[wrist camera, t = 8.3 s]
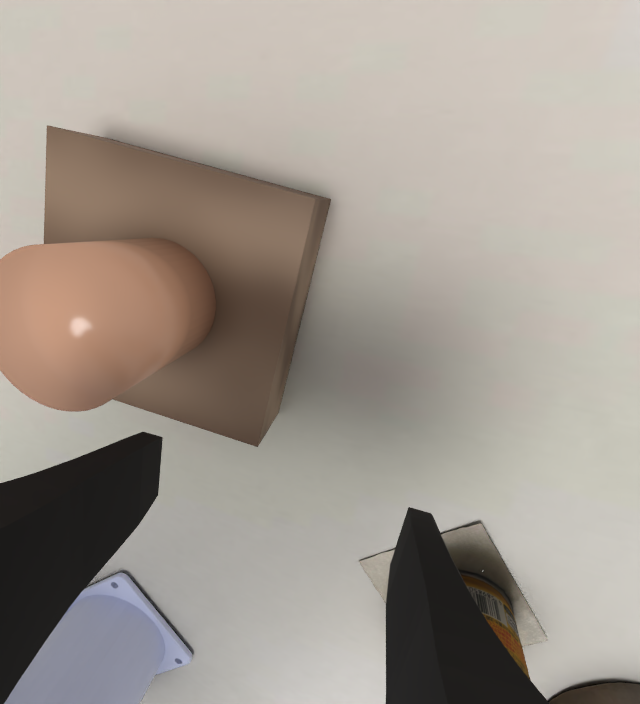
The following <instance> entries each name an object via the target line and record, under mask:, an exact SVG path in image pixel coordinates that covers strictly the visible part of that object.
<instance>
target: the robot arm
mask: <svg viewBox="0 0 640 704" xmlns="http://www.w3.org/2000/svg"><path fill="white" fill-rule="evenodd" d="M162 438H163V437H159V436H156V435H152V434H149V433H145V432H141V433H138V434H136V435H133V436H130V437H128V438H125V439H123V440H120V441H118V442H115V443H113V444H110V445H108V446H106V447H103V448H101V449H98V450H96V451H93V452H91V453H88V454H86V455H83V456H81V457H78V458H75V459H73V460H70V461H67V462H64V463H62V464H59V465H56V466H53V467H50V468H48V469H45V470H42V471H39V472H36V473H33V474H30V475H27V476H24V477H21V478H17V479H14V480H11V481H7V482H3V483H0V704H140V702H141V700H142V698H143V696H144V695H145V693H146V691H147V689H148V687H149V685H150V683H151V682H152V680H153V678H154V676H155V675H157V674H160V673H163V672H166V671H169V670H172V669H175V668H178V667H181V666H184V665H186V664H189V663H190V662H191V660H192V657H193V655H192V653H191V651H190V650H189V649H188V648H187V647H186V645H185V644H184V643H183V642H182V641H181V639H180V638H179V637H178V636H177V635H176V633H175V632H174V631H173V630H172V628H171V627H170V626H169V625H168V624H167V622H166V621H165V620H164V619H163V618H162V616H161V615H160V614H159V613H158V612H157V610H156V609H155V608H154V607H153V606H152V604H151V603H150V602H149V601H148V599H147V598H146V597H145V596H144V595H143V593H142V592H141V591H140V590H139V589H138V587H137V586H136V585H135V584H134V583H133V581H132V580H131V579H130V578H129V577H128V575H126V574H125V573H117V574H115V575H113V576H111V577H109V578H107V579H104V580H102V581H100V582H98V583H96V584H94V585H91V586H89V587H87V588H85V587H86V586H87V585H88V584H89V583H90V581H91V580H92V579H93V578H94V577H95V576H96V574H97V573H98V572H99V571H100V570H101V569H102V567H103V566H104V565H105V564H106V563H107V562H108V560H109V559H110V558H111V557H112V556H113V555H114V553H115V552H116V551H117V550H118V549H119V548H120V546H121V545H122V544H123V543H124V542H125V540H126V539H127V538H128V537H129V536H130V535H131V533H132V532H133V531H134V530H135V529H136V527H137V526H138V525H139V523H140V522H141V520H142V519H143V517H144V516H145V514H146V513H147V512H148V510H149V508H150V507H151V505H152V504H153V502H154V500H155V499H156V497H157V496H158V488H159V475H160V463H161V450H162ZM84 588H85V589H84ZM386 704H550V703H549V702H548V701H547V700H546V699H545V698H544V696H543V695H542V694H541V693H540V692H539V690H538V689H537V688H536V687H535V685H534V684H533V683H532V682H531V680H530V679H529V678H528V677H527V675H526V674H525V673H524V672H523V670H522V669H521V668H520V667H519V665H518V664H517V663H516V661H515V660H514V659H513V657H512V656H511V655H510V653H509V652H508V651H507V649H506V648H505V646H504V645H503V644H502V642H501V641H500V639H499V638H498V636H497V635H496V633H495V632H494V631H493V629H492V628H491V626H490V625H489V623H488V622H487V620H486V618H485V617H484V615H483V614H482V612H481V610H480V609H479V607H478V605H477V603H476V602H475V600H474V598H473V597H472V595H471V593H470V591H469V590H468V588H467V586H466V584H465V582H464V580H463V578H462V577H461V575H460V573H459V571H458V569H457V567H456V565H455V563H454V561H453V559H452V557H451V555H450V553H449V551H448V549H447V547H446V544H445V542H444V540H443V538H442V536H441V533H440V531H439V529H438V527H437V524H436V522H435V520H434V518H433V516H432V514H431V513H427V512H424V511H420V510H417V509H413V508H410V507H409V508H408V511H407V514H406V517H405V520H404V523H403V526H402V529H401V533H400V536H399V539H398V542H397V545H396V548H395V551H394V554H393V557H392V560H391V563H390V570H389V579H388V587H387V597H386Z"/></svg>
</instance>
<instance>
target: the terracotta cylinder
mask: <svg viewBox="0 0 640 704" xmlns="http://www.w3.org/2000/svg"><path fill="white" fill-rule="evenodd" d="M215 312H216V298H215V292H214V287H213V284H212V281H211V279H210V277H209V275H208V273H207V271H206V269H205V268H204V266H203V265H202V263H201V262H200V261H199V260H198V259H197V258H196V257H195V256H194V255H193V254H192V253H191V252H190V251H188V250H187V249H186V248H184V247H183V246H181V245H179V244H177V243H175V242H172V241H170V240H166V239H161V238H141V239H124V240H107V241H91V242H74V243H57V244H40V245H30V246H25V247H21V248H19V249H16V250H13V251H12V252H10V253H8V254H7V255H5V256H4V257H3V258H2V259H0V370H1V371H2V373H3V374H4V375H5V377H6V378H7V379H8V380H9V381H10V382H11V383H12V384H13V385H14V386H15V387H16V388H17V389H19V390H20V391H21V392H22V393H24V394H25V395H27V396H28V397H29V398H31V399H33V400H35V401H36V402H38V403H40V404H43V405H45V406H47V407H50V408H54V409H57V410H63V411H86V410H90V409H94V408H97V407H99V406H101V405H103V404H105V403H107V402H108V401H110V400H112V399H113V398H115V397H117V396H118V395H120V394H121V393H123V392H125V391H126V390H128V389H129V388H131V387H133V386H134V385H136V384H138V383H139V382H141V381H142V380H144V379H146V378H147V377H149V376H151V375H152V374H154V373H155V372H157V371H159V370H160V369H162V368H163V367H165V366H167V365H168V364H170V363H172V362H173V361H175V360H176V359H178V358H180V357H181V356H183V355H185V354H186V353H188V352H189V351H191V350H193V349H194V348H196V347H197V346H198V345H199V344H200V343H201V342H202V341H203V340H204V339H205V338H206V336H207V335H208V333H209V332H210V330H211V327H212V325H213V322H214V318H215Z"/></svg>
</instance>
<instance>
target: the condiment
mask: <svg viewBox="0 0 640 704" xmlns="http://www.w3.org/2000/svg"><path fill="white" fill-rule="evenodd" d="M441 536H442V538H443V540H444V542H445V544H446V547H447V549H448V551H449V553H450V555H451V557H452V559H453V561H454V563H455V565H456V567H457V569H458V571H459V573H460V575H461V577H462V578H463V580H464V582H465V584H466V586H467V588H468V590H469V591H470V593H471V595H472V597H473V598H474V600H475V602H476V603H477V605H478V607H479V609H480V610H481V612H482V614H483V615H484V617H485V618H486V620H487V622H488V623H489V625H490V626H491V628H492V629H493V631H494V632H495V633H496V635H497V636H498V638H499V639H500V641H501V642H502V644H503V645H504V646H505V648H506V649H507V651H508V652H509V653H510V655H511V656H512V657H513V659H514V660H515V661H516V663H517V664H518V665H519V667H520V668H521V669H522V670H523V672H524V673H525V674H526V675H527V677H528V678H529V679H530V677H529V674H528V669H527V665H526V661H525V657H524V654H523V649H522V647H523V646H525V645H531V644H535V643H540V642H543V641H547V640H548V639H547V637H546V636H545V634H544V632H543V630H542V629H541V627H540V625H539V623H538V621H537V620H536V618H535V616H534V614H533V612H532V611H531V609H530V607H529V605H528V603H527V602H526V600H525V598H524V596H523V595H522V593H521V591H520V589H519V588H518V586H517V585H516V583H515V581H514V579H513V578H512V576H511V575H510V573H509V571H508V570H507V567H506V565H505V564H504V562H503V560H502V558H501V557H500V555H499V553H498V551H497V549H496V548H495V546H494V545H493V543H492V541H491V540H490V538H489V536H488V534H487V532H486V531H485V529H484V527H483V525H482V524H481V523H480V524H476V525H473V526H469V527H467V528H466V527H463V528H459V529H457V530H453V531H450V532H446V533H444V534H441ZM394 551H395V550H392V551H388V552H384V553H380V554H378V555H376V556H374V557H371V558H368V559H365V560H362V561H359V562H360V564H361V566H362V567H363V569H364V571H365V572H366V574H367V575H368V577H369V578H370V579H371V581H372V583H373V585H374V587H375V588H376V590H377V591H378V592H379V593H380V595H381V597H382V598H383V600H384V602H385V603H386V597H387V587H388V579H389V570H390V563H391V560H392V557H393V554H394ZM482 570H484V571H483V572H482Z"/></svg>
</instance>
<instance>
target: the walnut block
mask: <svg viewBox="0 0 640 704" xmlns="http://www.w3.org/2000/svg"><path fill="white" fill-rule="evenodd" d="M330 201H331V199H328V198H324V197H321V196H317V195H313V194H310V193H306V192H302V191H299V190H295V189H291V188H288V187H284V186H280V185H277V184H273V183H269V182H266V181H262V180H258V179H255V178H251V177H247V176H244V175H240V174H236V173H233V172H229V171H225V170H222V169H218V168H214V167H211V166H207V165H203V164H200V163H196V162H192V161H189V160H185V159H181V158H178V157H174V156H170V155H167V154H163V153H159V152H155V151H152V150H148V149H144V148H141V147H137V146H133V145H130V144H126V143H122V142H119V141H115V140H111V139H108V138H104V137H99V136H95V135H90V134H85V133H80V132H76V131H71V130H66V129H61V128H57V127H52V126H47V144H46V182H45V220H44V244H57V243H74V242H91V241H107V240H124V239H141V238H161V239H166V240H170V241H172V242H175V243H177V244H179V245H181V246H183V247H184V248H186V249H187V250H188V251H190V252H191V253H192V254H193V255H194V256H195V257H196V258H197V259H198V260H199V261H200V262H201V263H202V265H203V266H204V268H205V269H206V271H207V273H208V275H209V277H210V279H211V281H212V284H213V287H214V292H215V298H216V312H215V318H214V322H213V325H212V327H211V330H210V332H209V333H208V335H207V336H206V338H205V339H204V340H203V341H202V342H201V343H200V344H199V345H198V346H197V347H196V348H194V349H193V350H191V351H189V352H188V353H186V354H185V355H183V356H181V357H180V358H178V359H176V360H175V361H173V362H172V363H170V364H168V365H167V366H165V367H163V368H162V369H160V370H159V371H157V372H155V373H154V374H152V375H151V376H149V377H147V378H146V379H144V380H142V381H141V382H139V383H138V384H136V385H134V386H133V387H131V388H129V389H128V390H126V391H125V392H123V393H121V394H120V395H118V396H117V397H115V398H113V399H114V400H117V401H120V402H123V403H126V404H129V405H132V406H135V407H138V408H141V409H144V410H147V411H150V412H153V413H156V414H159V415H162V416H165V417H168V418H171V419H174V420H177V421H180V422H183V423H186V424H190V425H193V426H196V427H199V428H202V429H205V430H208V431H211V432H214V433H217V434H220V435H223V436H226V437H229V438H232V439H235V440H238V441H241V442H244V443H247V444H250V445H253V446H256V447H258V445H259V444H260V442H261V440H262V439H263V437H264V436H265V434H266V432H267V431H268V429H269V427H270V426H271V424H272V423H273V421H274V419H275V418H276V416H277V414H278V413H279V409H280V405H281V401H282V396H283V392H284V388H285V384H286V380H287V376H288V372H289V368H290V364H291V360H292V356H293V352H294V348H295V344H296V339H297V335H298V331H299V327H300V323H301V319H302V315H303V311H304V307H305V303H306V299H307V295H308V291H309V287H310V282H311V278H312V274H313V270H314V266H315V262H316V258H317V254H318V250H319V246H320V242H321V238H322V234H323V230H324V225H325V221H326V217H327V213H328V209H329V205H330Z"/></svg>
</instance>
